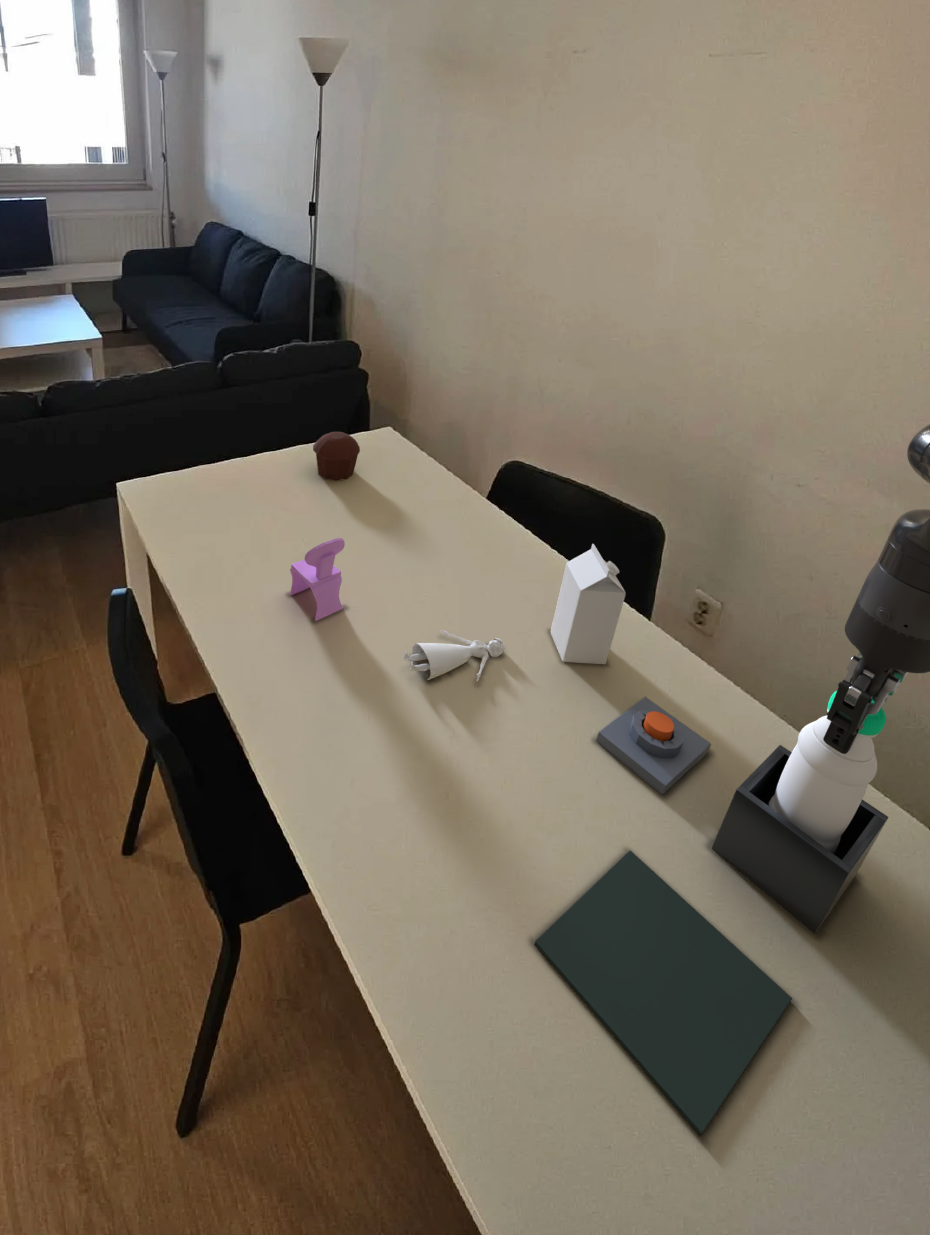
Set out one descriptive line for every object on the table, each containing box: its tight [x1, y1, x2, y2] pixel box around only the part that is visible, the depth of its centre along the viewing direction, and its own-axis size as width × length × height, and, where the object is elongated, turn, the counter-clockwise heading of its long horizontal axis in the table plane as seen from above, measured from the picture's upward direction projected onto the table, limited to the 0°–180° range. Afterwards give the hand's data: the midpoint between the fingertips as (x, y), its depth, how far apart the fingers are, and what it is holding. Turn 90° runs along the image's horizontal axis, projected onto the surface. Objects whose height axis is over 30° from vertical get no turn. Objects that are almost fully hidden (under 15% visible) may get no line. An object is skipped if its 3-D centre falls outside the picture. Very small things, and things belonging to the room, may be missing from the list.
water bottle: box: [768, 690, 887, 854], centre depth 77 cm, size 7×7×25 cm
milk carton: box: [550, 543, 627, 665], centre depth 111 cm, size 7×7×19 cm
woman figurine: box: [402, 629, 505, 682], centre depth 111 cm, size 12×4×18 cm
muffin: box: [312, 431, 361, 482], centre depth 166 cm, size 12×11×10 cm
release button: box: [643, 711, 674, 741], centre depth 96 cm, size 4×4×2 cm
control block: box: [595, 696, 712, 796], centre depth 97 cm, size 12×10×4 cm
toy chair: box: [289, 537, 346, 622], centre depth 120 cm, size 8×9×15 cm
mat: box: [533, 850, 793, 1137], centre depth 72 cm, size 18×18×1 cm
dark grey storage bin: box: [711, 744, 889, 934], centre depth 81 cm, size 11×11×11 cm
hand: (846, 734), depth 74 cm, fingers closed on water bottle, 5 cm apart
